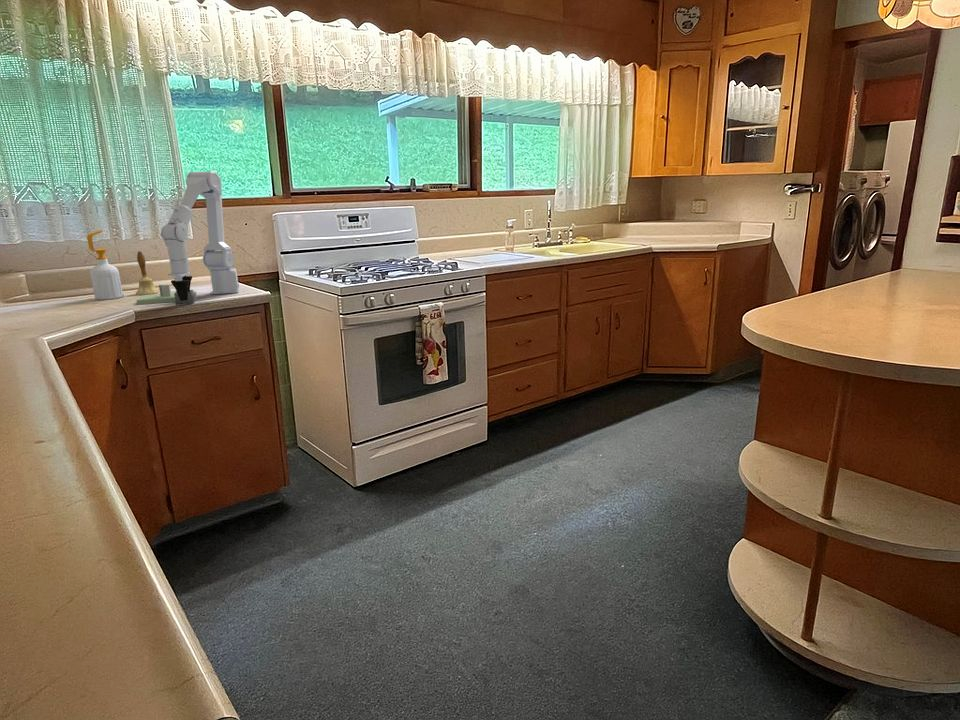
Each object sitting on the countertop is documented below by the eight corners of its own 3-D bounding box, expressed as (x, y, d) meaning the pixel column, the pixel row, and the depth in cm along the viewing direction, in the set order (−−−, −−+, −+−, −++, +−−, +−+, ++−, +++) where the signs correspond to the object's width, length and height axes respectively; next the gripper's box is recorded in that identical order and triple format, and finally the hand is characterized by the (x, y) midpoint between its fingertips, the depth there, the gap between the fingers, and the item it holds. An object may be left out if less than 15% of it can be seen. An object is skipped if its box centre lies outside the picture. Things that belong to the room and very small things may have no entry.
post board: (196, 295, 227) (194, 280, 226) (193, 300, 218) (191, 284, 216) (143, 299, 222) (140, 284, 220) (137, 304, 213) (134, 288, 211)
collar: (195, 300, 217) (193, 289, 215) (193, 303, 212) (191, 292, 210) (178, 302, 215) (176, 290, 214) (176, 304, 210) (174, 293, 209)
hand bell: (149, 295, 231) (141, 252, 226) (130, 295, 232) (122, 252, 228) (164, 291, 238) (157, 250, 234) (146, 291, 240) (138, 250, 236)
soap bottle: (127, 297, 228) (114, 230, 221) (99, 301, 221) (85, 232, 214) (118, 294, 233) (106, 229, 227) (92, 298, 227) (78, 231, 220)
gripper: (169, 258, 215) (175, 296, 218) (162, 262, 201) (169, 303, 205) (191, 256, 217) (196, 294, 220) (185, 261, 203) (192, 301, 207)
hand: (185, 298), depth 213 cm, fingers closed on collar, 5 cm apart
